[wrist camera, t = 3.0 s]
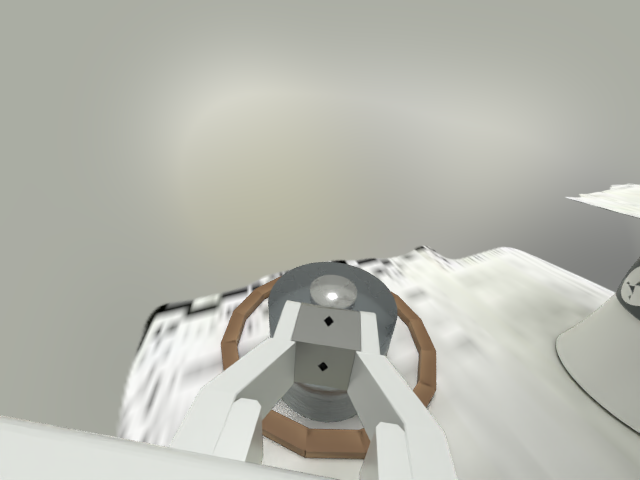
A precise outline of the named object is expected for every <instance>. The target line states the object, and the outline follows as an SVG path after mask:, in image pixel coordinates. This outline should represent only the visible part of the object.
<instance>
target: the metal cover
mask: <svg viewBox="0 0 640 480" xmlns="http://www.w3.org/2000/svg"><path fill="white" fill-rule="evenodd" d="M287 300H289V301H294V302H300V303H308V304H314V305H320V306H326V307H333V308H340V309H347V310H355V311H359V312H360V311H363V312H371V313H375V314H376V319H377V329H378V338H379V347H380V355H384V356H386V355H387V352H388V348H389V345H390V341H391V338H392V335H393V331H394V328H395V324H396V320H397V313H398V311H397V305H396V301H395V299H394V297H393V295H392V293H391V292H390V290H389V289H388V288H387V287H386V285H385V284H384V283H382V282H381V281H380V280H379V279H378V278H376V277H375V276H373V275H372V274H370V273H368V272H366V271H364V270H362V269H360V268H357V267H354V266H351V265H347V264H342V263H335V262H318V263H311V264H306V265H302V266H299V267H296V268H294V269H292V270H290V271H289V272H287V273H285V274H284V275H283V276H281V277H280V278H279V279H278V280H277V281H276V283H275V284H274V285H273V287H272V289H271V291H270V295H269V300H268V307H269V325H270V338H273V336H274V333H275V330H276V327H277V325H278V322H279V319H280V316H281V313H282V310H283V308H284V305H285V303H286V301H287ZM282 399H283V401H284V402H285V403H286V404H287V405H288V406H289V407H290V408H291V409H293V410H294V411H295V412H297V413H298V414H300V415H302V416H304V417H306V418H309V419H312V420H316V421H321V422H337V421H342V420H346V419H348V418H351V417H353V416H355V415H356V414H357V412H356V410H355V408H354V405H353V403H352V401H351V399H350V397H349V395H348V393H347V390H342V389H337V388H332V387H326V386H321V385H314V384H307V383H300V382H294V384H293V385H292V386H291V387H290V388H289V390H288V391H287V392H286V393H285V394H284V395H283V397H282Z"/></svg>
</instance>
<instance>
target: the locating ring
mask: <svg viewBox="0 0 640 480" xmlns="http://www.w3.org/2000/svg"><path fill="white" fill-rule="evenodd" d="M279 278H280V277H278V278H276V279H274V280H272V281H270V282H268V283H266V284H264V285H262V286H260V287H258V288H256V289H255V290H254V291H253V292H252V293H251V294H250V295H249V296H248V297H247V298H246V299H245V300H244V301H243V302H242V303H241V304H240V305H239V306H238V307H237V308H236V309H235V310H234V312H233V313H232V316H231V318H230V321H229V324H228V326H227V329H226V331H225V334H224V336H223V339H222V341H221V350H222V359H223V369H224V371H225V370H226V369H227V368H229V367H230V366H231V365H233V364H234V363H235V362H236V361H238V360H239V356H238V350H237V346H238V343H239V340H240V337H241V333H242V330H243V327H244V324H245V321H246V319H247V318H248V317H249V316H250V315H251V313H252V312H253V311H254V310H255V309H256V308H257V307H258V306H259V304H260V303H261V302H262V301H263V300H264V299H266V298H268V297H269V295H270V291H271V289H272V287H273V285H274V284H275V283H276V281H277V280H278V279H279ZM390 292H391V291H390ZM391 293H392V292H391ZM392 295H393V297H394V299H395V301H396V305H397V311H398V313H397V315H398V316H399V317H400V318H401V319H402V320H403V321H404V322H405V324H406V325H407V326H408V328H409V330H410V333H411V335H412V338H413V340H414V343H415V345H416V348H417V350H418V353H419V365H418V380H417V385H416V387H415V388H414V390H413V392H414V393H415V394H416V396H417V397H418V398H419V400H420V401H421V402H422V403H423V405H424V406H425V407H427V405H428V404H429V402H430V400H431V399H432V397H433V395H434V393H435V391H436V350H435V348H434V346H433V344H432V341H431V339H430V337H429V335H428V333H427V331H426V329H425V327H424V324H423V322H422V320H421V319H420V318H419V317H418V316H417V315H416V314H415V313H414V312H413V311H412V310H411V309H410V307H409V306H408V305H407V304H406V303H405V302H404V301H403V300H402V299H401V298H400V297H399V296H397V295H396V294H394V293H392ZM262 435H264V436H266V437H267V438H269V439H271V440H273V441H275V442H277V443H279V444H280V445H282V446H284V447H286V448H288V449H290V450H292V451H294V452H295V453H297V454H299V455H301V456H303V457H305V458H351V459H364V458H365V456H366V453H367V451H368V448H369V445H370V442H371V441H370V439H369V437H368V435H367V433H366V431H365V429H364V428H362V429H360V430H340V429H309V428H307V427H305V426H303V425H301V424H299V423H297V422H295V421H293V420H291V419H289V418H287V417H285V416H283V415H281V414H279V413H277V412H275V411H273V410H271V411H270V412H269V413H268V414H267V415H266V417H265V418H264V419H263V420H262Z"/></svg>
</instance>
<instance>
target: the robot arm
mask: <svg viewBox="0 0 640 480" xmlns="http://www.w3.org/2000/svg"><path fill="white" fill-rule="evenodd" d="M556 349H557V353H558V355H559V358H560V360H561V361H562V363H563V365H564V366H565V368H566V369H567V371H568V372H569V373H570V375H571V376H572V377H573V378H574V379H575V381H576V382H577V383H578V384H579V385H580V386H581V387H582V388H583V389H584V390H585V391H586V392H587V393H588V394H589V395H590V396H591V397H592V398H594V399H595V400H596V401H597V402H598V403H599V404H600V405H602V406H603V407H604V408H605V409H607V410H608V411H609V412H610V413H612V414H613V415H614V416H616V417H617V418H618V419H620V420H621V421H622V422H624V423H625V424H627V425H628V426H630V427H631V428H632V429H634V430H635V431H637V432H638V433H640V258H639V259H638V260H637V261H636V262H635V264H634V265H633V266H632V267H631V269H630V270H629V271H628V272H627V274H626V275H625V277H624V279H623V280H622V282H621V284H620V286H619V288H618V290H617V292H616V293H615V294H614V295H613V296H612V297H611V298H610V299H609V300H608V301H606V302H605V303H604V304H603V305H602V306H601V307H600V308H598V309H597V310H596V311H595V312H594V313H592V314H591V315H590V316H588V317H587V318H586V319H584V320H583V321H582V322H580V323H579V324H577V325H576V326H574V327H572V328H571V329H569V330H567V331H565V332H563V333H562V334H560V335H559V336H558V338H557V341H556ZM294 382H300V383H307V384H314V385H321V386H326V387H332V388H337V389H342V390H347V393H348V395H349V397H350V399H351V401H352V403H353V405H354V408H355V410H356V412H357V414H358V416H359V418H360V420H361V422H362V425H363V427H364V429H365V431H366V433H367V435H368V437H369V439H370V441H371V442H370V445H369V448H368V451H367V453H366V456H365V459H364V462H363V465H362V467H361V470H360V473H359V480H458V478H457V475H456V471H455V467H454V464H453V460H452V457H451V453H450V449H449V446H448V442H447V438H446V435H445V431H444V430H443V429H442V428H441V426H440V425H439V424H438V423H437V421H436V420H435V419H434V417H433V416H432V415H431V414H430V412H429V411H428V410H427V408H426V407H425V406H424V405H423V403H422V402H421V401H420V400H419V398H418V397H417V396H416V394H415V393H414V392H413V391H412V389H411V388H410V387H409V386H408V384H407V383H406V382H405V380H404V379H403V378H402V377H401V375H400V374H399V373H398V371H397V370H396V369H395V368H394V366H393V365H392V364H391V363H390V361H389V360H388V359H387V357H386V356H384V355H380V347H379V338H378V329H377V319H376V314H375V313H371V312H363V311H360V312H359V311H355V310H347V309H340V308H333V307H326V306H320V305H314V304H308V303H300V302H294V301H289V300H287V301H286V303H285V305H284V308H283V310H282V313H281V316H280V319H279V322H278V325H277V327H276V330H275V333H274V336H273V338H267V339H266V340H264V341H263V342H262V343H260V344H259V345H258V346H256V347H255V348H254V349H252V350H251V351H250V352H248V353H247V354H246V355H244V356H243V357H242V358H240V359H239V360H238V361H236V362H235V363H234V364H233V365H231V366H230V367H229V368H227V369H226V370H225V371H223V372H222V373H221V374H219V375H218V376H217V377H215V378H214V379H213V380H211V381H210V382H209V383H207V384H206V385H205V386H203V387H202V388H201V389H200V391H199V392H198V394H197V396H196V398H195V400H194V402H193V403H192V405H191V407H190V409H189V411H188V413H187V414H186V416H185V418H184V420H183V422H182V423H181V425H180V427H179V429H178V431H177V433H176V434H175V436H174V438H173V440H172V442H171V444H170V445H169V447H165V446H160V445H155V444H150V443H144V442H139V441H134V440H128V439H123V438H118V437H113V436H107V435H102V434H96V433H91V432H86V431H81V430H76V429H70V428H65V427H59V426H54V425H49V424H44V423H38V422H33V421H28V420H23V419H17V418H12V417H7V416H2V415H0V480H339V479H334V478H329V477H324V476H318V475H313V474H308V473H303V472H297V471H292V470H287V469H281V468H276V467H271V466H266V465H261V463H262V459H263V435H262V420H263V419H264V418H265V417H266V415H267V414H268V413H269V412H270V411H271V410H272V408H273V407H274V406H275V405H276V404H277V402H278V401H279V400H280V399H281V398H282V397H283V395H284V394H285V393H286V392H287V391H288V390H289V388H290V387H291V386H292V385H293V384H294Z"/></svg>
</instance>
